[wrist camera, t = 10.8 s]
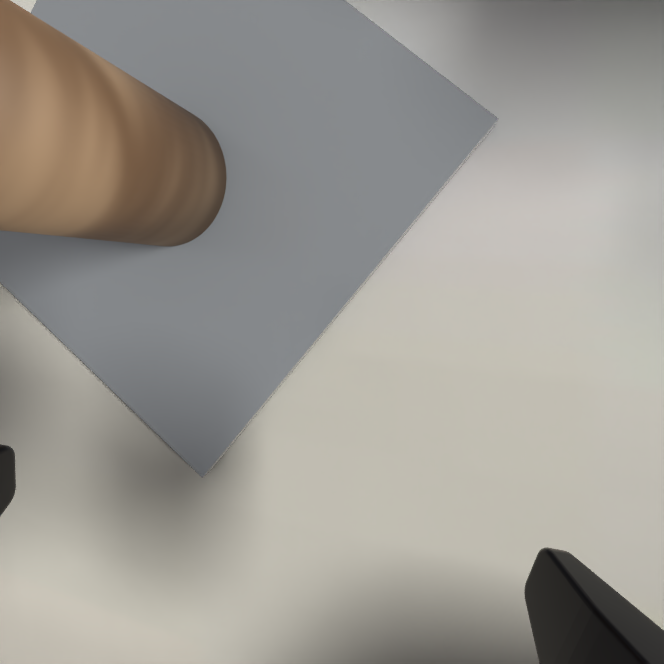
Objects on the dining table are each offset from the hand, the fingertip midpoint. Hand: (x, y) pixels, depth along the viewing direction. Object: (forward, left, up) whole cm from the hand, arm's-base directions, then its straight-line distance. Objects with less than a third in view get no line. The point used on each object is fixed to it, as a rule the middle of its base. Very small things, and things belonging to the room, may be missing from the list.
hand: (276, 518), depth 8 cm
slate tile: (+12, -1, -10) cm, 16 cm away
